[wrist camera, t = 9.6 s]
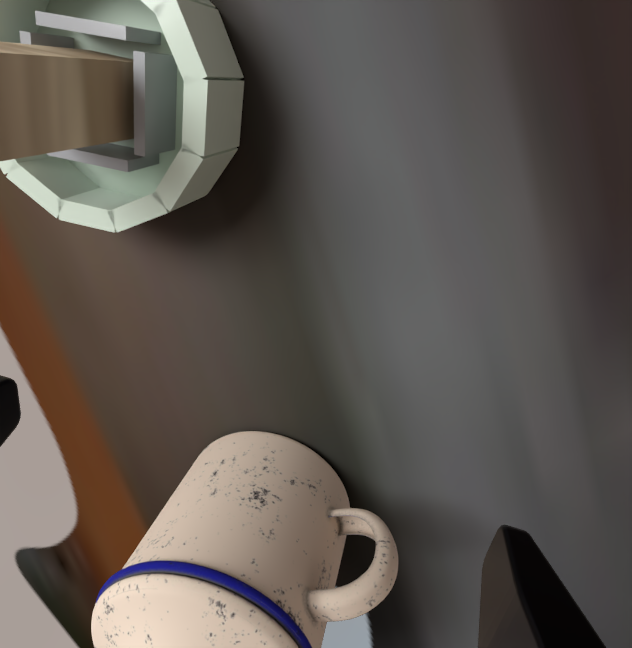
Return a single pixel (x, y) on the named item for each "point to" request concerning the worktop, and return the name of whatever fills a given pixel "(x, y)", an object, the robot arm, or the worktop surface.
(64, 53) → the wooden square beam
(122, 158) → the light green piece
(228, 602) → the teacup with lid
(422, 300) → the worktop surface
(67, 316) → the worktop surface
